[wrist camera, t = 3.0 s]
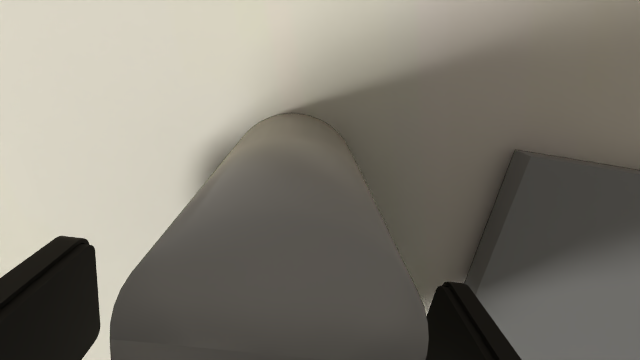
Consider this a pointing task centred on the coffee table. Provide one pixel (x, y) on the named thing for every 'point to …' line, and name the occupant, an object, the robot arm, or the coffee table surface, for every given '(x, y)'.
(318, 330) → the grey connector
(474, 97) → the coffee table surface
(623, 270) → the charcoal mat
